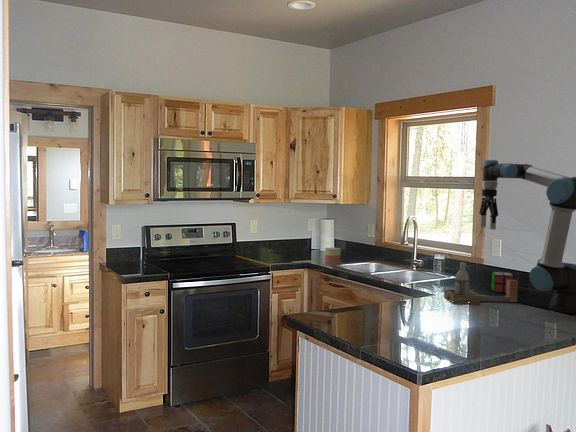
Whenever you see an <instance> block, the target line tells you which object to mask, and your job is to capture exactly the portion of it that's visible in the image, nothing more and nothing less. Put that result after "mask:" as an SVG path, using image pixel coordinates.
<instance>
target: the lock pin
mask: <svg viewBox="0 0 576 432" xmlns="http://www.w3.org/2000/svg"><path fill="white" fill-rule="evenodd" d="M518 287H519V280H516V279H514V278H513V279H507V283H506V293H505V295H480V302H506V303H507V302H509V303H518V294H519V293H518V291H519V289H518Z"/></svg>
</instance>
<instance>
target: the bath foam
mask: <svg viewBox="0 0 576 432" xmlns="http://www.w3.org/2000/svg"><path fill="white" fill-rule="evenodd" d="M466 267H467V263H466V262H463V261H462V262H459V270H458V271H457V273H456V274H455V278H454V279H455V280H454V290H455V295H469V290H470V275H469V273H468V272H467V270H466Z"/></svg>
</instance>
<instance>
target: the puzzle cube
mask: <svg viewBox="0 0 576 432" xmlns="http://www.w3.org/2000/svg"><path fill="white" fill-rule="evenodd" d="M514 278H515V277H514V275H513V274H512V273H510V272H503V271H502V272H501V271H500V272H499V271H498V272H497V271H492V273H491V290H492V291H493V292H494V293H503V294H504V293H505V294H506V283H507V279H514Z"/></svg>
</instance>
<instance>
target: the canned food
mask: <svg viewBox="0 0 576 432" xmlns="http://www.w3.org/2000/svg"><path fill="white" fill-rule="evenodd" d="M324 251H325V252H324V265H325V266H328V267H339V266H341V251H342V250H341V248H340V247H325V248H324Z"/></svg>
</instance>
